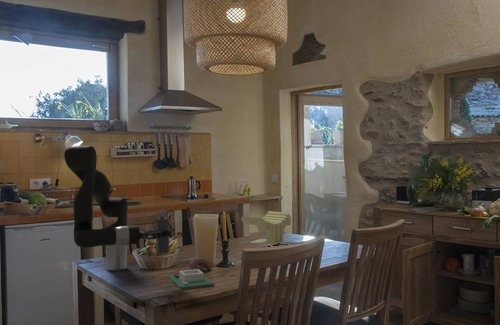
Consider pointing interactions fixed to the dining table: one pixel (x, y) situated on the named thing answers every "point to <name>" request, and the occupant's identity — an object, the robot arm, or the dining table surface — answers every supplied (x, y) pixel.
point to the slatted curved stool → (270, 226)
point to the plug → (162, 242)
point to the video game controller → (200, 262)
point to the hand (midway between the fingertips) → (168, 232)
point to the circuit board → (190, 279)
